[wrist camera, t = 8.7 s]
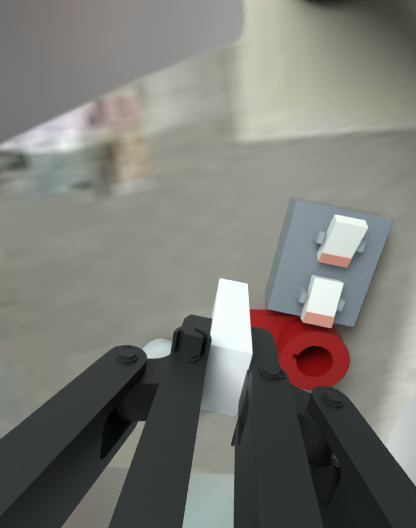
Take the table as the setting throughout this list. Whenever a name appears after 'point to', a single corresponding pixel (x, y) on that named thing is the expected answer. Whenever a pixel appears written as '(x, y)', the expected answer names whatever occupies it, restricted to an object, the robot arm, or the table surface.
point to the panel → (306, 263)
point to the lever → (298, 338)
